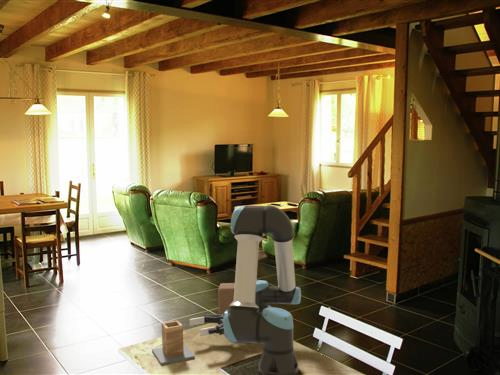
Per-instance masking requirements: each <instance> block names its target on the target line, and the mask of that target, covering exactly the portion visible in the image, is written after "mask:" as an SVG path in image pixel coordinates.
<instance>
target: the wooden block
mask: <svg viewBox="0 0 500 375" xmlns="http://www.w3.org/2000/svg"><path fill="white" fill-rule="evenodd" d="M234 288H235V282H228V283H227V282H223V283H220V284H219V287H218V294H217V295H218V314H224V312H225V311H226V310H229V305H230V304H231V303H232V302H233V301H234Z"/></svg>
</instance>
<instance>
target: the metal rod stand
mask: <svg viewBox="0 0 500 375" xmlns="http://www.w3.org/2000/svg"><path fill="white" fill-rule="evenodd" d="M183 348H184V354H181V355H176V356H171V357H167V356H166V355H165V354H164V352H163V350H162V346H161V347H155V348H151V352H152V354H153V353H154V354H153V355H154V356H155V359H156V360H157V361H158V363H159V364H160V366H165V365H169V364H173V363H175V364H176V363H179V362H184V361H187V360H192V359H196V358H195V357H196V355H195V354H194V353H193V352H192V351H191V350H190V349H189V347H188V346H187V345H186V344H185V343H184V342H183Z"/></svg>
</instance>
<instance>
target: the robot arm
mask: <svg viewBox="0 0 500 375" xmlns="http://www.w3.org/2000/svg"><path fill="white" fill-rule="evenodd" d="M230 231H231V234H234V239H236V241H237V248H236V249H237V250H236V264H235V274H234V275H235V278H234V283H235V288H234V301H233V302H232V303H231V304H230V305H229V310H226V311H225V312H224V314H219V313H218V314H213V313H212V314H203V315H202V316H200V317H195V318H189V326H196V325H201V324H202V325H203V324H204V325H205V324H206V323H209V324H210V323H211V324H217V325H215V326H209V327H205V328H200V329H199V331H200V332H199V334H200V335H199V336H200V337H205V336H209V335H214V334H217V335H219V336H222V335H224V336H225V338H226V340H228V341H229V342H233V343H237V344H240V343H243V344H245V343H246V344H261V345H262V352H261V356H260V359H259V363H258V372H259V371H260V372H261V373H262V374H264V375H298V373H299V362H298V360H297V357H296V354H295V351H294V321H293V320H294V318H293V315H292V313H291V312H289V311H288V310H286V309H283V308H280V307H274V306H273V307H272V306H271V305H269V304H280V305H281V304H283V305H298V304H299V305H300V303H301V301H302V300H301V299H302V290H301V287H298V286H296V274H295V262H294V261H295V260H294V250H293V249H294V248H293V246H294V245H293V240H294V238H295V228H294V225H293V223H292V221H291V220H290V218H289V216H288V215H287V214H286V213H285V212H284V210H282V209H281V208H279V207H277V206H274V205H248V204H247V205H239V206H238V205H237V207H235V209H233V212H232V215H231V219H230ZM264 235H270V238H271V240H272V241H273V245H274V256H275V264H276V265H275V266H276V276H277V286H276V285H269V282H268V281H267V280H261V279H259V280H257V278H258V277H257V276H258V264H259V262H258V261H259V244H260V242H261V241H263V240H264V238H263V237H264Z"/></svg>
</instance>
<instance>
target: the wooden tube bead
mask: <svg viewBox="0 0 500 375" xmlns="http://www.w3.org/2000/svg"><path fill="white" fill-rule="evenodd" d="M161 343H162V344H161V345H162V346H161V347H162V350H163V352H164V354H165V355H166V356H167V357H171V356H176V355H181V354H184V348H183V343H184V325H183V324H182V323H181V322H180V321H179V320H172V321H167V322H162V323H161Z"/></svg>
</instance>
